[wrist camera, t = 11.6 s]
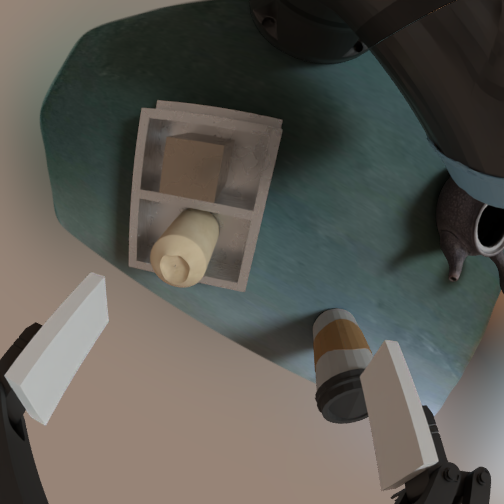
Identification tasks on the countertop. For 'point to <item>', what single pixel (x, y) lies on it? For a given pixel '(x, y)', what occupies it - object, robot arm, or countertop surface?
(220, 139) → the block
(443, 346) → the countertop surface
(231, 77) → the countertop surface
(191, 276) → the candle
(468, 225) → the teapot
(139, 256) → the divided tray
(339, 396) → the coffee cup
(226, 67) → the countertop surface
